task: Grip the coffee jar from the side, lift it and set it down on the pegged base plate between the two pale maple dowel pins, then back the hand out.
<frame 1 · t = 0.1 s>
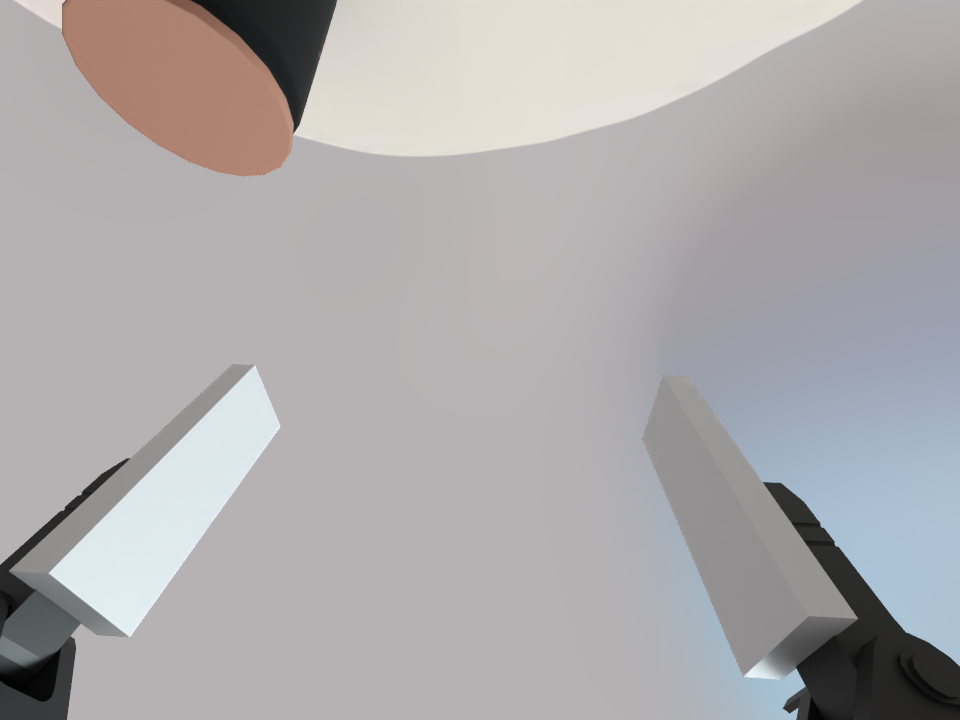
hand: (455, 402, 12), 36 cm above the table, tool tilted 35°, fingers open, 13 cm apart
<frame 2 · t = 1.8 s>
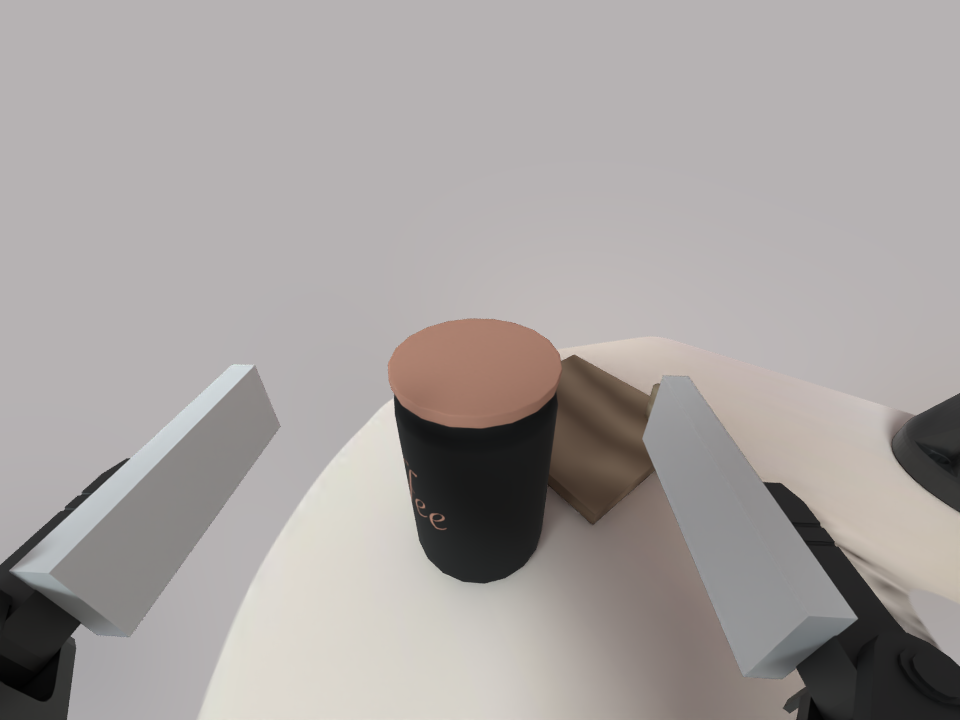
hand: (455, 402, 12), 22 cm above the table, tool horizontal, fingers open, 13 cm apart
coffee jar: (479, 527, 33), on the table
pegged base plate: (580, 424, 43), on the table
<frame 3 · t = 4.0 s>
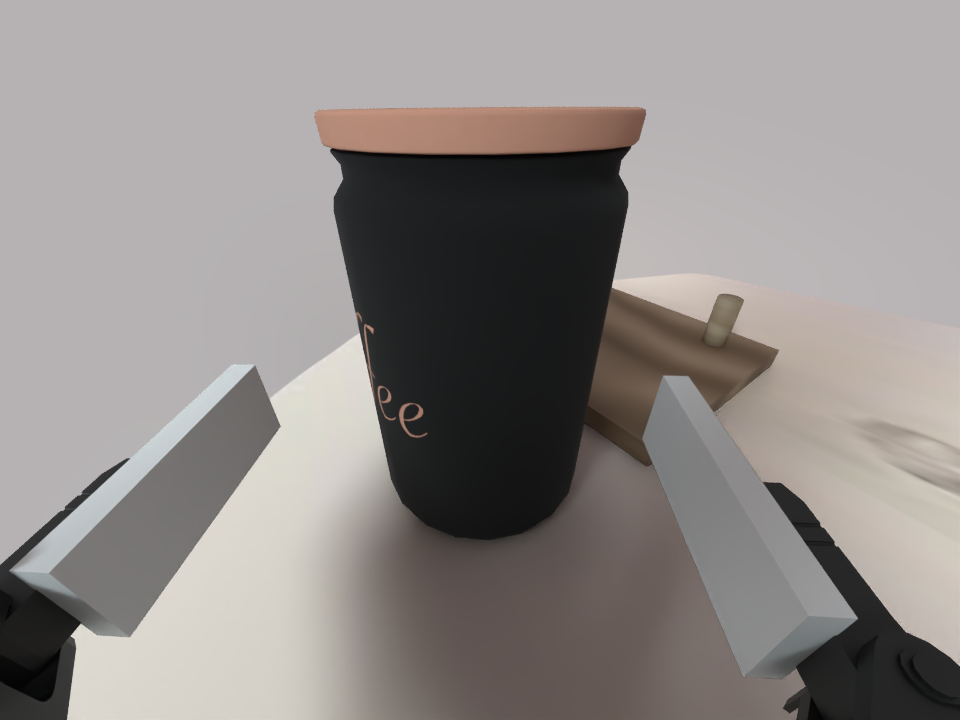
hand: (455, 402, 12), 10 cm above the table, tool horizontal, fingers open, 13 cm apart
coffee jar: (482, 468, 23), on the table
pegged base plate: (615, 354, 33), on the table
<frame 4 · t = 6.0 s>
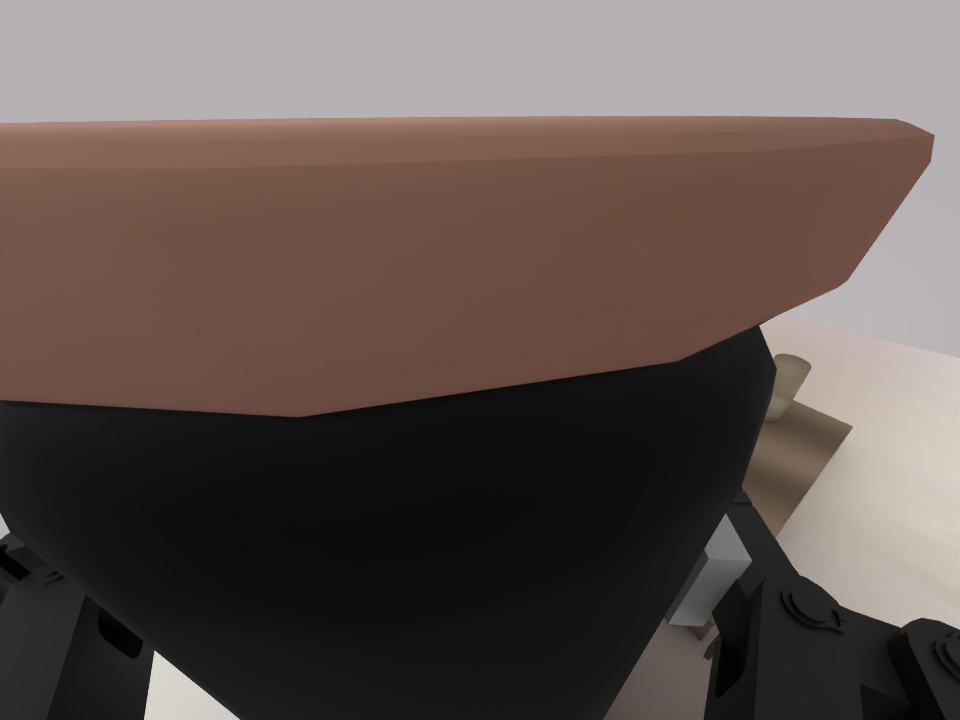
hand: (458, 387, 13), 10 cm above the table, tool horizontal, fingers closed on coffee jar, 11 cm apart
coffee jar: (457, 643, 15), on the table, touching gripper
pegged base plate: (636, 425, 26), on the table
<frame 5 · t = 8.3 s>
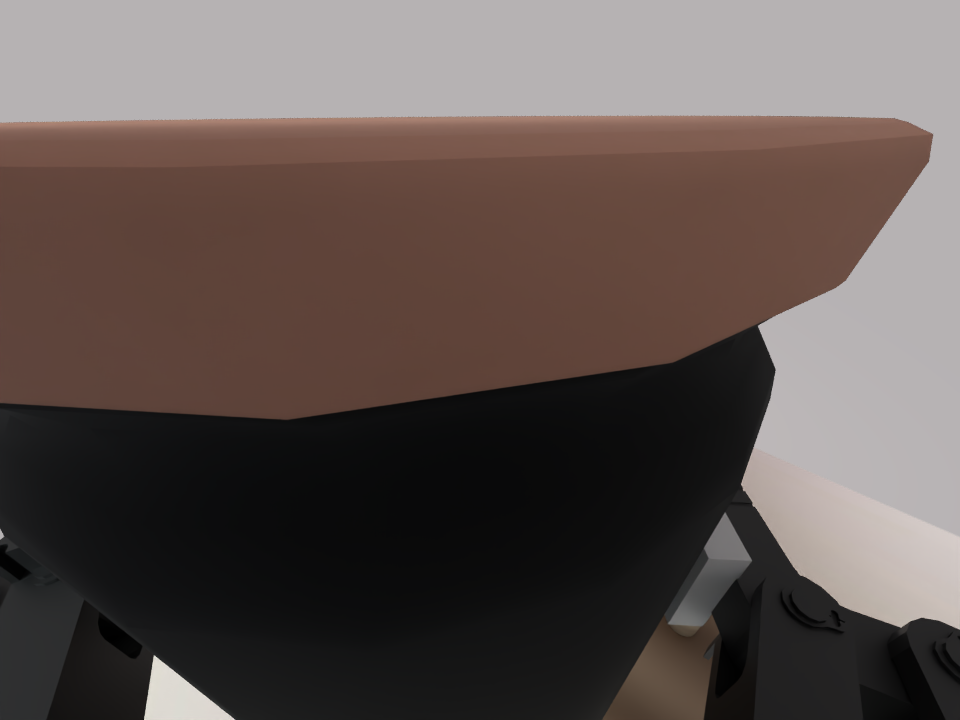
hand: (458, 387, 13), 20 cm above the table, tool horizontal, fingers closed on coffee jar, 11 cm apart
coffee jar: (456, 644, 15), point 9 cm above the table, touching gripper
pegged base plate: (549, 620, 24), on the table
when the fingers open (13 cm above the table, at t = 10.6 s): coffee jar drops 1 cm, resting on pegged base plate.
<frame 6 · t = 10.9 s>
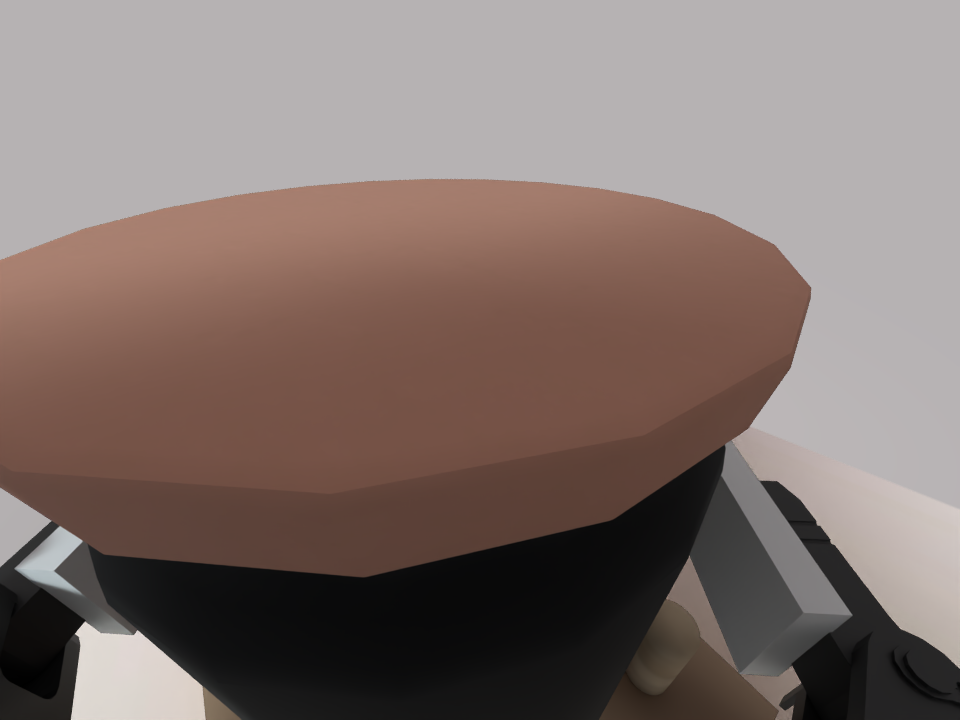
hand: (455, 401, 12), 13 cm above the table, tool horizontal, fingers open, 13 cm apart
coffee jar: (457, 658, 16), point 1 cm above the table, touching pegged base plate
pegged base plate: (460, 668, 17), on the table
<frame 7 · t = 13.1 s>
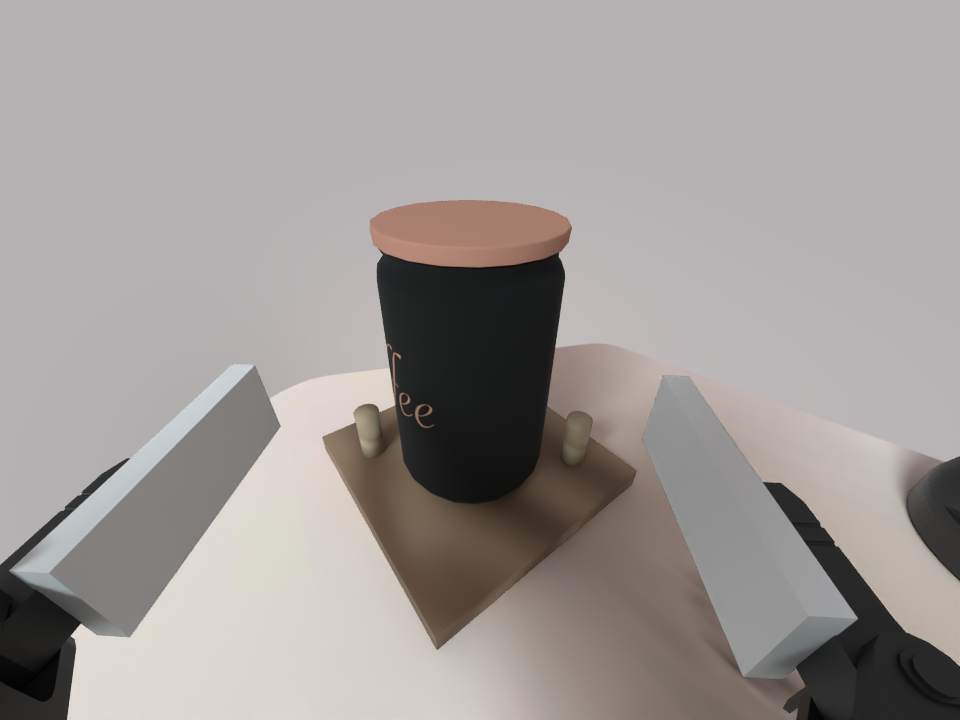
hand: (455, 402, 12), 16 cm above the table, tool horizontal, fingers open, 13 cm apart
coffee jar: (471, 455, 30), point 1 cm above the table, touching pegged base plate
pegged base plate: (472, 465, 31), on the table
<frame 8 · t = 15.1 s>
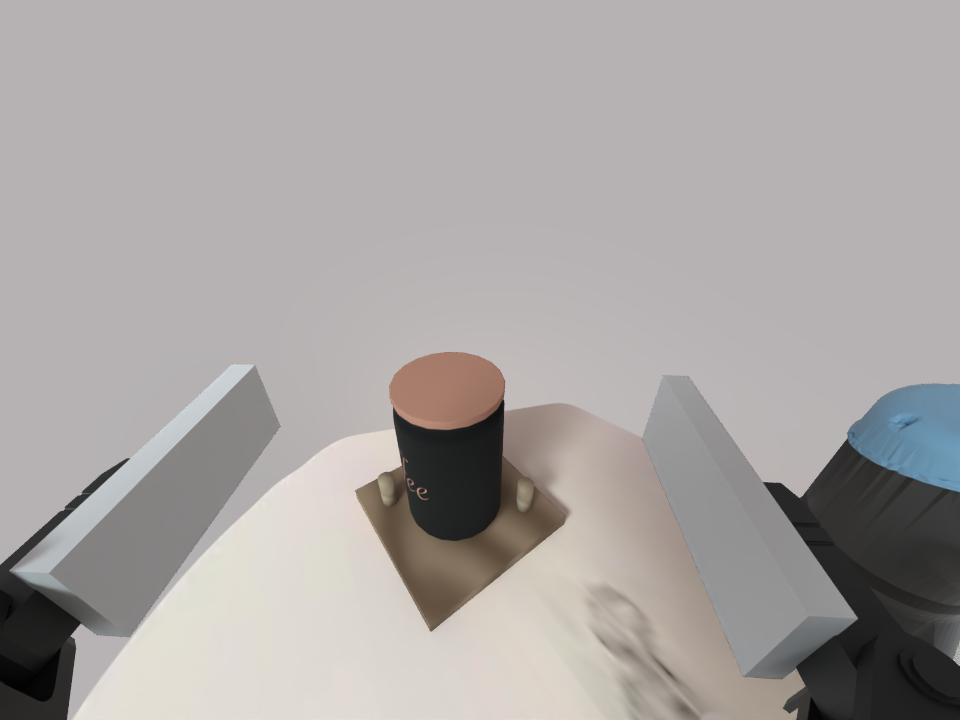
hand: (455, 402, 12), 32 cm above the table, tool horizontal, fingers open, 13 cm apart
coffee jar: (456, 504, 44), point 1 cm above the table, touching pegged base plate
pegged base plate: (457, 510, 45), on the table
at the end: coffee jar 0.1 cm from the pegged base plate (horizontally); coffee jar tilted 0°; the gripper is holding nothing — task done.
